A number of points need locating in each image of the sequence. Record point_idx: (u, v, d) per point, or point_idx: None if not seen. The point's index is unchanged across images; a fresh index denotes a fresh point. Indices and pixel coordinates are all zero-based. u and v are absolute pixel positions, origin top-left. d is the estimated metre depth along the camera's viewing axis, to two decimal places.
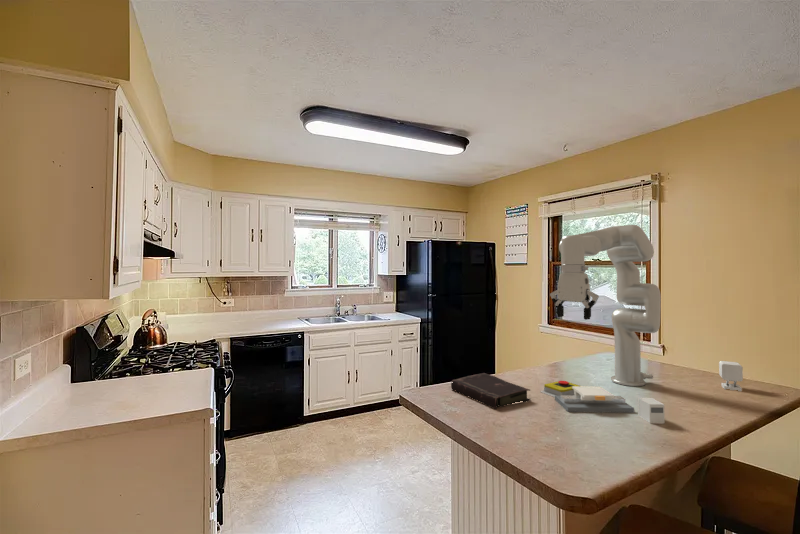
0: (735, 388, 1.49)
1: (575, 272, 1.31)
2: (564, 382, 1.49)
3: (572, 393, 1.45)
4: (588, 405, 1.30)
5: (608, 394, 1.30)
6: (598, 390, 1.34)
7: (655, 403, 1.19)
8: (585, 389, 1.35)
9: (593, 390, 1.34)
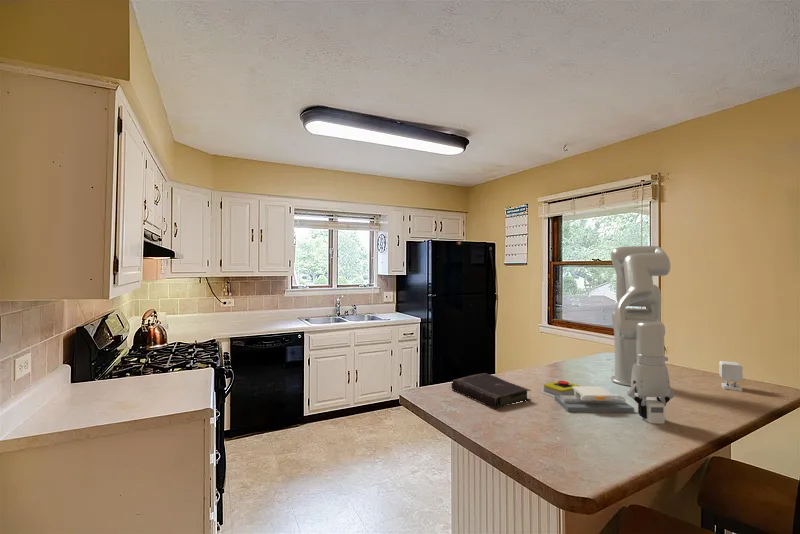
0: (735, 388, 1.49)
1: (663, 365, 1.18)
2: (564, 382, 1.49)
3: (571, 394, 1.45)
4: (588, 405, 1.30)
5: (608, 394, 1.30)
6: (598, 390, 1.34)
7: (655, 403, 1.19)
8: (585, 389, 1.35)
9: (593, 390, 1.34)
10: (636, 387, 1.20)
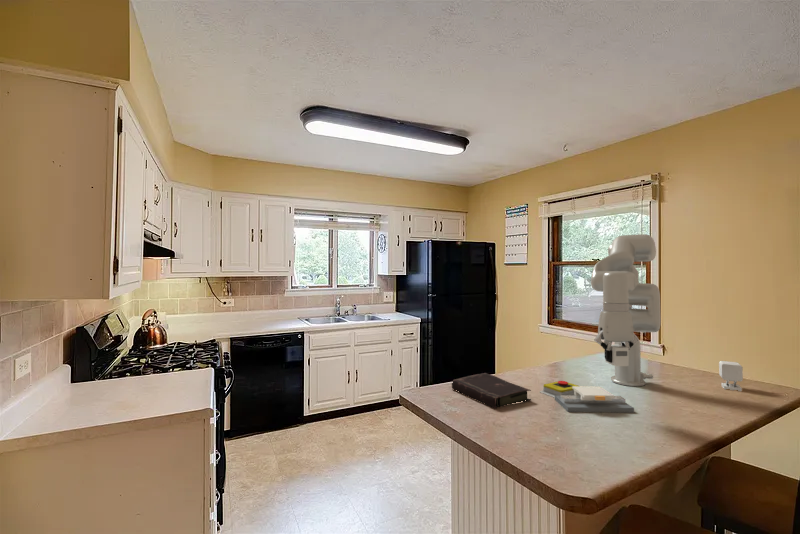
0: (735, 388, 1.49)
1: (627, 311, 1.26)
2: (563, 382, 1.49)
3: (571, 394, 1.45)
4: (588, 405, 1.30)
5: (608, 394, 1.30)
6: (598, 390, 1.34)
7: (620, 347, 1.26)
8: (585, 389, 1.35)
9: (593, 390, 1.34)
10: (602, 333, 1.27)
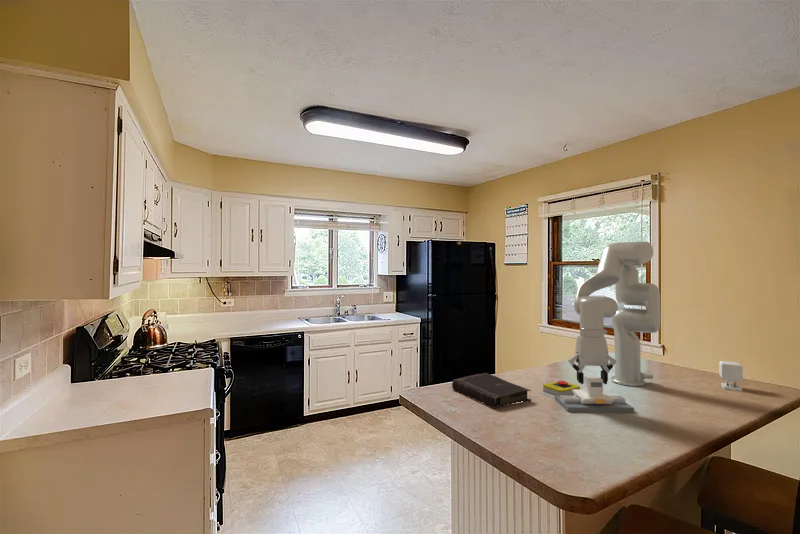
0: (735, 388, 1.49)
1: (602, 337, 1.31)
2: (563, 382, 1.48)
3: (571, 394, 1.45)
4: (588, 405, 1.30)
5: (608, 397, 1.30)
6: None
7: (595, 378, 1.32)
8: None
9: None
10: (578, 357, 1.33)
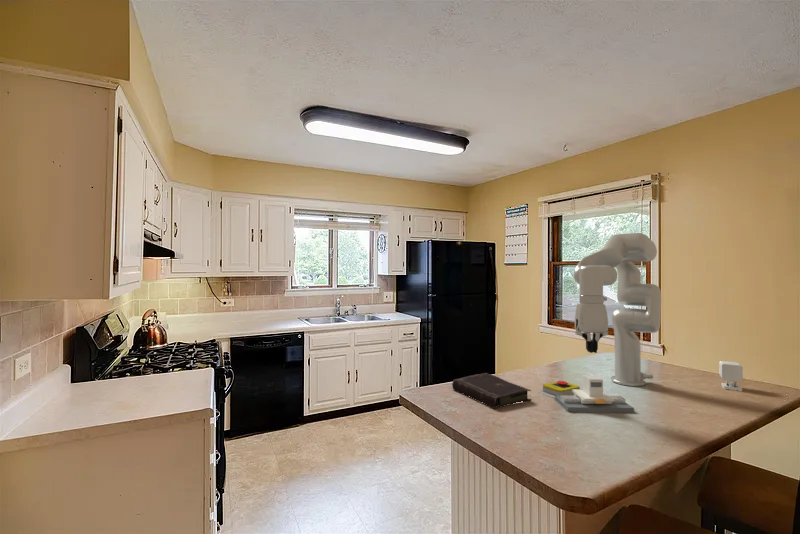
0: (735, 388, 1.49)
1: (602, 303, 1.31)
2: (563, 382, 1.48)
3: (570, 394, 1.45)
4: (588, 405, 1.30)
5: (608, 397, 1.30)
6: None
7: (595, 378, 1.32)
8: None
9: None
10: (578, 324, 1.33)
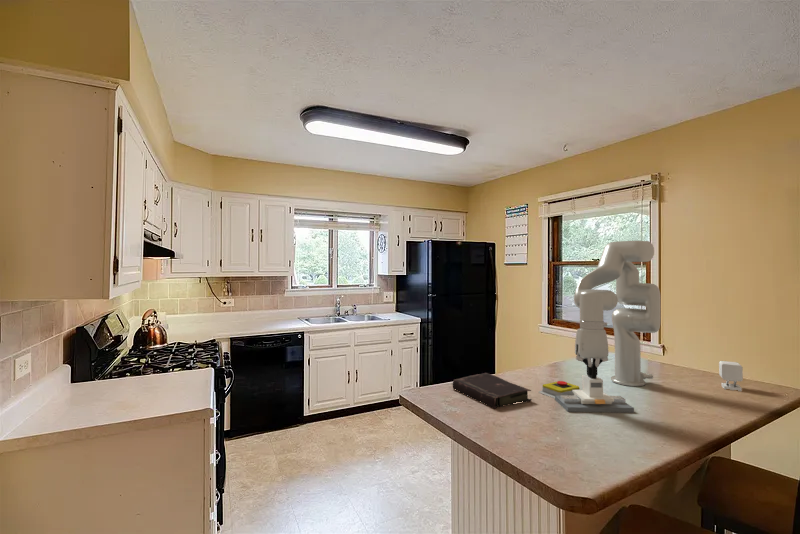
0: (735, 388, 1.49)
1: (602, 329, 1.31)
2: (562, 382, 1.48)
3: (570, 394, 1.44)
4: (588, 405, 1.30)
5: (608, 398, 1.30)
6: None
7: (595, 379, 1.32)
8: None
9: None
10: (578, 350, 1.33)
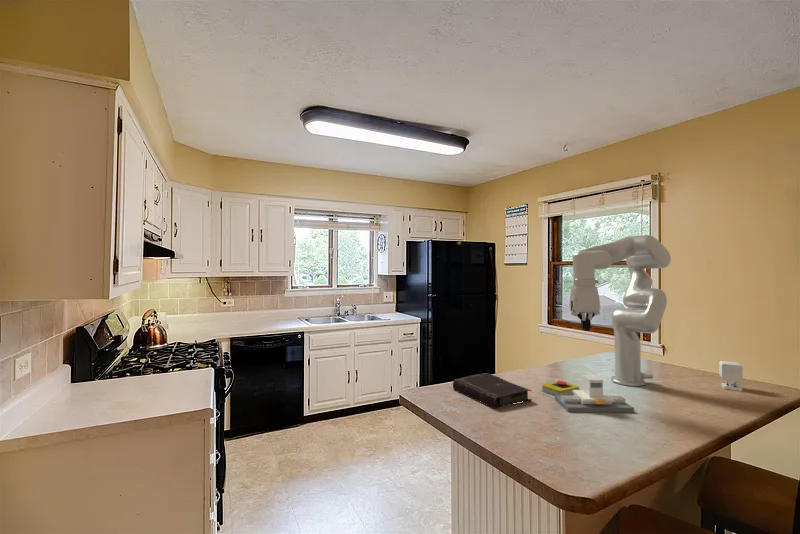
0: (735, 388, 1.49)
1: (594, 285, 1.44)
2: (562, 383, 1.48)
3: (570, 394, 1.44)
4: (588, 405, 1.30)
5: (608, 398, 1.30)
6: None
7: (595, 379, 1.32)
8: None
9: None
10: (573, 305, 1.46)
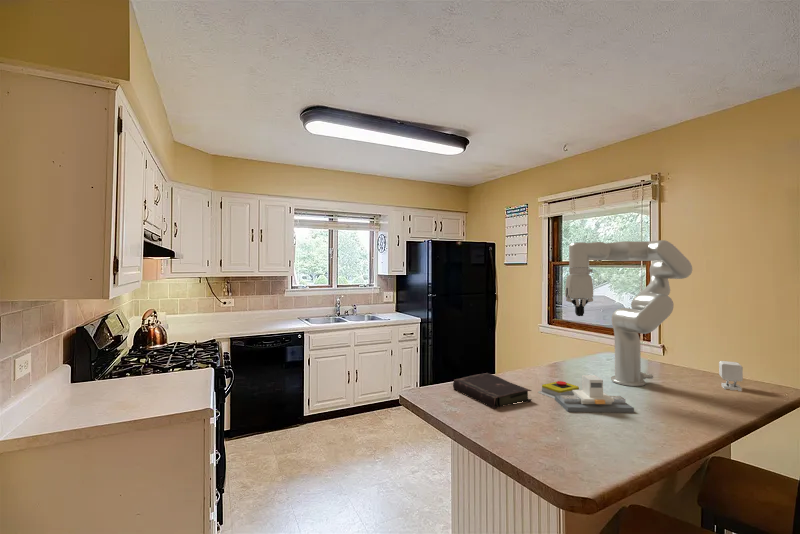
0: (735, 388, 1.49)
1: (588, 274, 1.55)
2: (562, 383, 1.48)
3: (570, 394, 1.44)
4: (588, 405, 1.30)
5: (608, 398, 1.30)
6: None
7: (595, 379, 1.32)
8: None
9: None
10: (568, 292, 1.57)
